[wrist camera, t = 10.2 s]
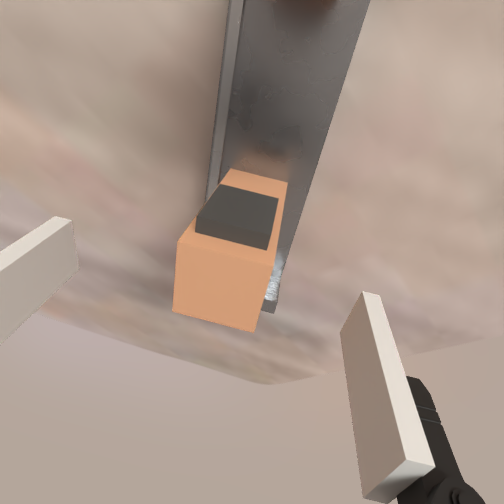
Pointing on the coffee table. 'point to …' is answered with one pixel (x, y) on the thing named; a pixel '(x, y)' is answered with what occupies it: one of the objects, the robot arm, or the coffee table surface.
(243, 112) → the rail
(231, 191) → the block
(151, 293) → the coffee table surface
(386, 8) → the coffee table surface
